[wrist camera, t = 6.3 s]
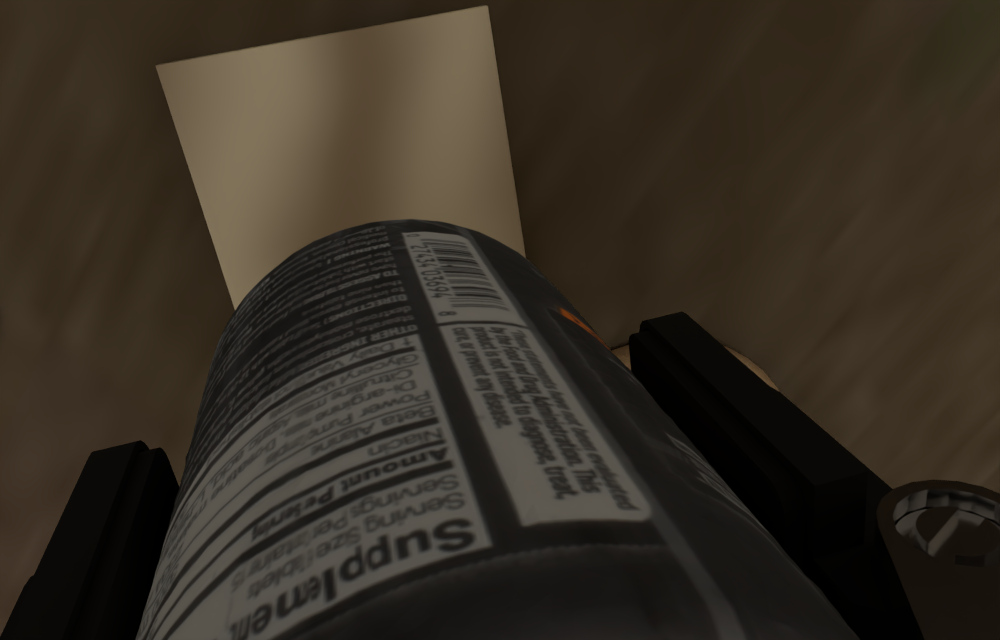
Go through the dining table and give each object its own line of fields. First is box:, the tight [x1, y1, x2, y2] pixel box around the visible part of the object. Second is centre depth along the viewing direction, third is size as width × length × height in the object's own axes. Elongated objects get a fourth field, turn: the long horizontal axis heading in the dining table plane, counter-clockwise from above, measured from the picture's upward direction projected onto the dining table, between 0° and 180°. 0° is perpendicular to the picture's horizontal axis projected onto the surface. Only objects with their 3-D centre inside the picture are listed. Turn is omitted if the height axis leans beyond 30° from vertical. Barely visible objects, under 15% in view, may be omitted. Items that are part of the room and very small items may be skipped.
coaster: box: [156, 5, 526, 310], centre depth 26 cm, size 10×10×1 cm
